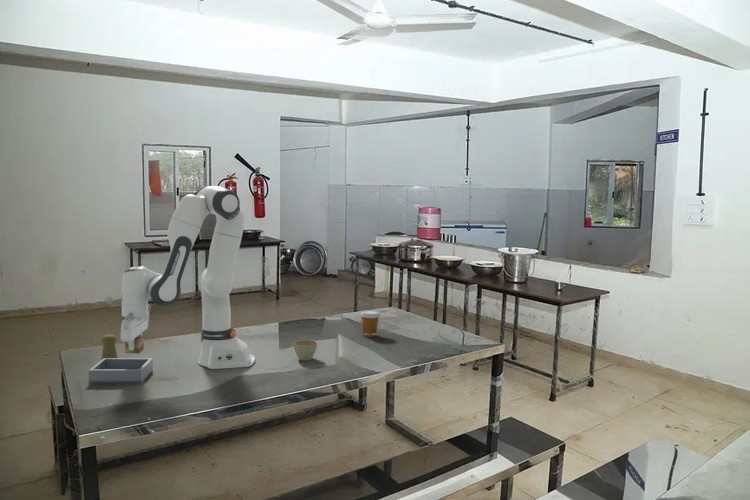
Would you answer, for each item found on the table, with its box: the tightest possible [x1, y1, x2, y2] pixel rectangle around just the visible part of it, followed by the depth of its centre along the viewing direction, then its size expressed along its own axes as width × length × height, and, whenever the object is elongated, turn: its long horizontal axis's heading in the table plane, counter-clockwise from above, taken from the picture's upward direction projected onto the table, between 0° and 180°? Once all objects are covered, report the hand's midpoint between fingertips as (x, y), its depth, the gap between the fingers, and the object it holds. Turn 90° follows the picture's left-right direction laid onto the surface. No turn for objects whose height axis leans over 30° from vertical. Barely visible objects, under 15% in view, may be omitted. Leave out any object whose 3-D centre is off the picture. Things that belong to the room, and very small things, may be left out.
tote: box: [88, 357, 154, 385], centre depth 204 cm, size 18×14×5 cm
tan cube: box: [124, 336, 145, 355], centre depth 203 cm, size 5×5×5 cm
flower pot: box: [293, 339, 318, 362], centre depth 233 cm, size 10×10×7 cm
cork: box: [101, 334, 118, 360], centre depth 220 cm, size 6×6×11 cm
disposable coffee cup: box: [360, 309, 381, 338], centre depth 273 cm, size 10×10×12 cm
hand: (134, 347), depth 203 cm, fingers closed on tan cube, 5 cm apart
